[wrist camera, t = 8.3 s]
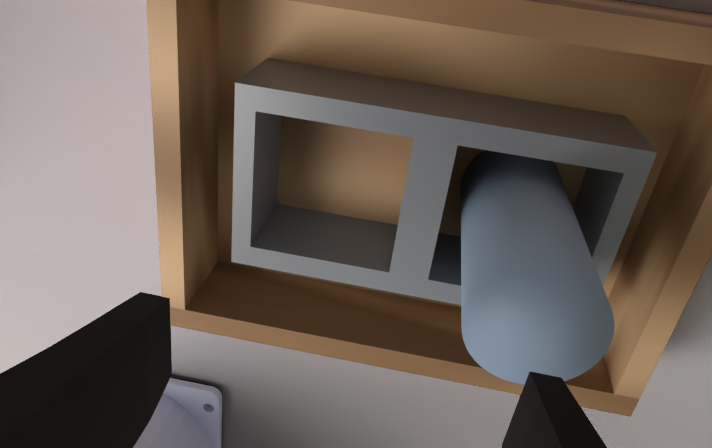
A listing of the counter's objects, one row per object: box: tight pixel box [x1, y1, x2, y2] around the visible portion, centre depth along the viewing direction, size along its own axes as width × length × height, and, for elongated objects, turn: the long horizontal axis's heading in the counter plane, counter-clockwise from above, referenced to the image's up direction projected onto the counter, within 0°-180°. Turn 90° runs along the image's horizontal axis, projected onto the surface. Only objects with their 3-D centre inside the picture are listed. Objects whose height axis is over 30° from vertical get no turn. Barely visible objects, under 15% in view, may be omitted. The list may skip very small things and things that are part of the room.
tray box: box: [147, 0, 712, 416], centre depth 18 cm, size 12×16×4 cm
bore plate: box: [231, 58, 657, 305], centre depth 18 cm, size 6×11×3 cm, turn 83°
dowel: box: [461, 150, 615, 385], centre depth 16 cm, size 3×3×8 cm
